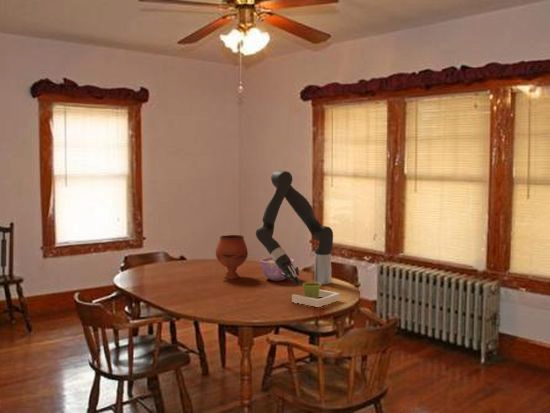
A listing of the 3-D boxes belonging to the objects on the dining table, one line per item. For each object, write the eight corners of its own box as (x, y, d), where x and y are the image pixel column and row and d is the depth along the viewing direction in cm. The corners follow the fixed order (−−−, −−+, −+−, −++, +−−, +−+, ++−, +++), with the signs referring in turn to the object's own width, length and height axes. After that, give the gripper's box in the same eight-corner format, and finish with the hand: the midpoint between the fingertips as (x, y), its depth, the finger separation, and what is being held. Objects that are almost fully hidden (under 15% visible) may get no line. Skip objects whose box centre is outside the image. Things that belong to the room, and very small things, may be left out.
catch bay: (313, 295, 297) (313, 288, 297) (339, 301, 286) (339, 293, 286) (292, 302, 283) (292, 294, 283) (318, 308, 273) (318, 300, 272)
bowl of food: (290, 283, 324) (290, 264, 323) (256, 282, 328) (256, 262, 327) (296, 276, 343) (296, 257, 342) (264, 274, 347) (264, 256, 346)
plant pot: (306, 304, 280) (306, 287, 280) (299, 299, 289) (299, 282, 288) (323, 302, 283) (324, 285, 283) (316, 298, 292) (316, 281, 292)
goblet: (249, 274, 349) (249, 234, 347) (245, 281, 330) (245, 238, 327) (219, 273, 351) (219, 233, 348) (212, 280, 332) (212, 238, 329)
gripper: (276, 255, 291) (295, 282, 285) (292, 251, 301) (310, 277, 295) (268, 264, 295) (286, 290, 288) (284, 260, 305) (302, 286, 299)
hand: (298, 284), depth 292 cm, fingers closed
